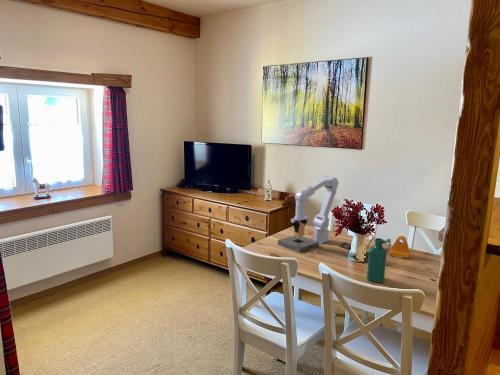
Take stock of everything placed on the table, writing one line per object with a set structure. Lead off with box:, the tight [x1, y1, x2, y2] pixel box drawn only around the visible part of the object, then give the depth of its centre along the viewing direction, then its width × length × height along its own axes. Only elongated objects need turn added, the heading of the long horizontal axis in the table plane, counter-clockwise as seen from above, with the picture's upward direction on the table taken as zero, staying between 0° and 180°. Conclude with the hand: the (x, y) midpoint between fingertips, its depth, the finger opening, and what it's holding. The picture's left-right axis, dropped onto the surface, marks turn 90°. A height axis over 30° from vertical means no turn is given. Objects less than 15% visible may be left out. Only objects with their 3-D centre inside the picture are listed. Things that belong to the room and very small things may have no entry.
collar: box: [277, 235, 320, 253], centre depth 245 cm, size 19×19×3 cm
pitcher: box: [366, 237, 392, 284], centre depth 195 cm, size 10×8×22 cm
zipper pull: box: [339, 242, 369, 264], centre depth 226 cm, size 9×7×25 cm
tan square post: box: [293, 221, 306, 237], centre depth 243 cm, size 4×4×8 cm
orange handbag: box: [388, 235, 411, 259], centre depth 231 cm, size 11×7×12 cm, turn 58°
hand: (299, 231), depth 244 cm, fingers closed on tan square post, 4 cm apart
